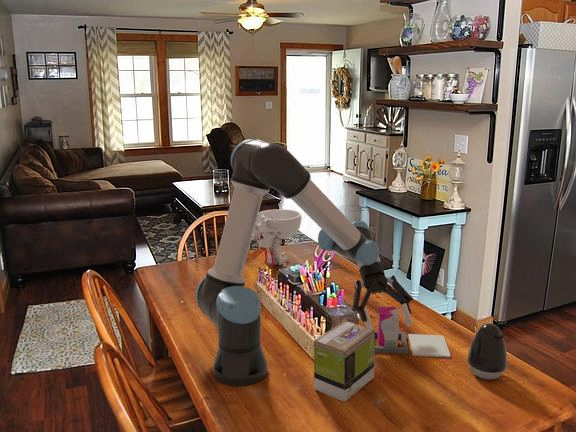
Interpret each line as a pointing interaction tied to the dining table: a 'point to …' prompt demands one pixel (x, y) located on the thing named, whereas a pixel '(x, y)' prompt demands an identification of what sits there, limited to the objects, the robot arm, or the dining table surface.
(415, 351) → the white flat square tile
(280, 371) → the dining table surface
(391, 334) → the supplement box
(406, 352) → the socket frame
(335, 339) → the tea box
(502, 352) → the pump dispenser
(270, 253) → the white sculpted pedestal bowl
